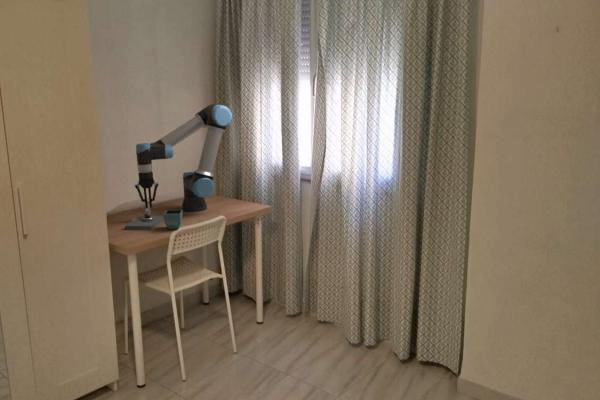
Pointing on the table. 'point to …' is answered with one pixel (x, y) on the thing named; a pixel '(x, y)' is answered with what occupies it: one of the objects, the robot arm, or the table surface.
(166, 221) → the flower pot
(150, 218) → the dial lever
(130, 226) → the dial plate
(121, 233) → the table surface
